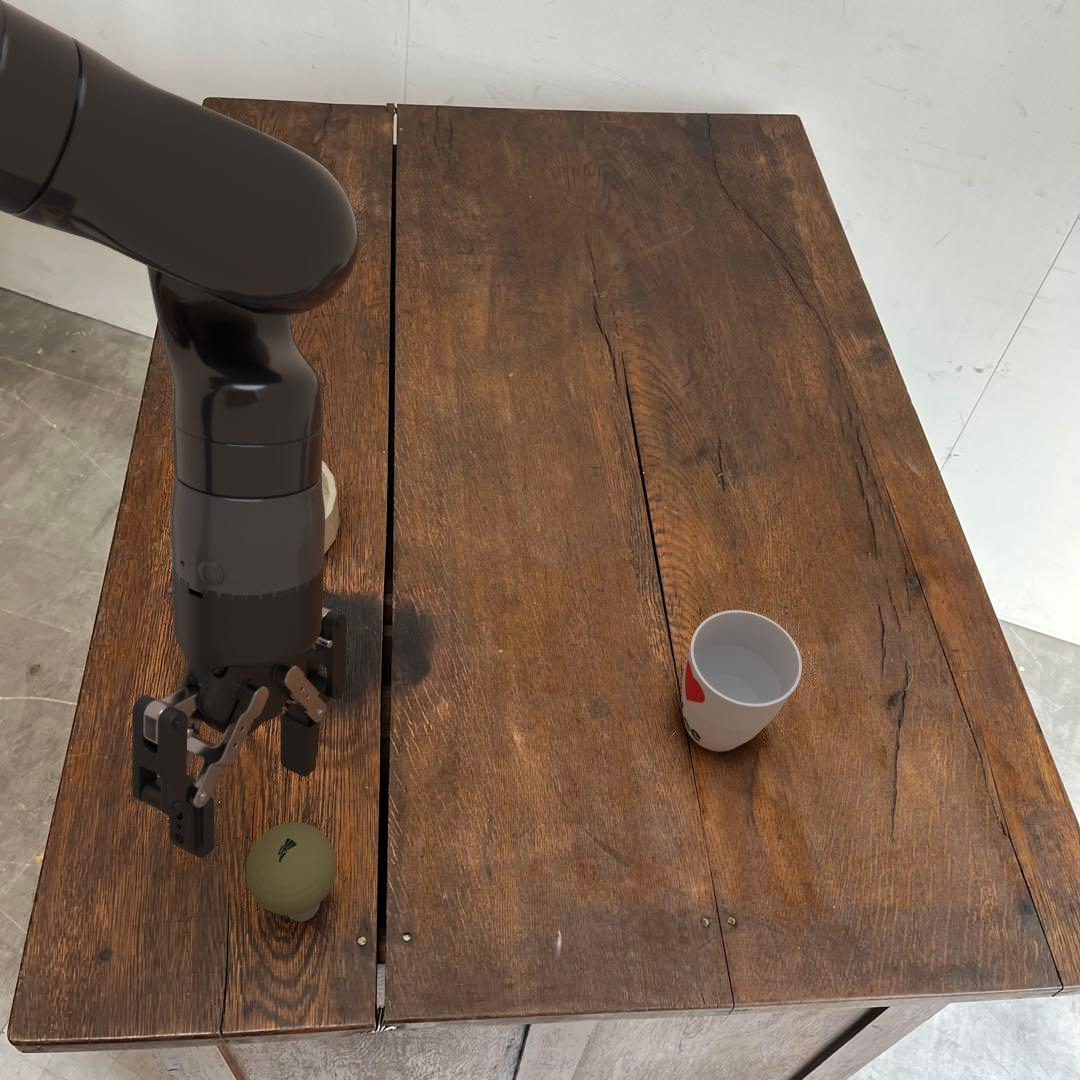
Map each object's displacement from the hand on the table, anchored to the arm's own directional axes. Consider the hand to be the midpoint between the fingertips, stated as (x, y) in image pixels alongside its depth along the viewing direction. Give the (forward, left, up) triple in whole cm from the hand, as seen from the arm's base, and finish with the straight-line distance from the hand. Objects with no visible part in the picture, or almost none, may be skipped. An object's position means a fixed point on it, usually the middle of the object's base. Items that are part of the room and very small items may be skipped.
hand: (249, 807), depth 59 cm
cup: (+35, -4, -15) cm, 38 cm away
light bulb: (+1, -1, -15) cm, 15 cm away
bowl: (+12, +31, -15) cm, 36 cm away
